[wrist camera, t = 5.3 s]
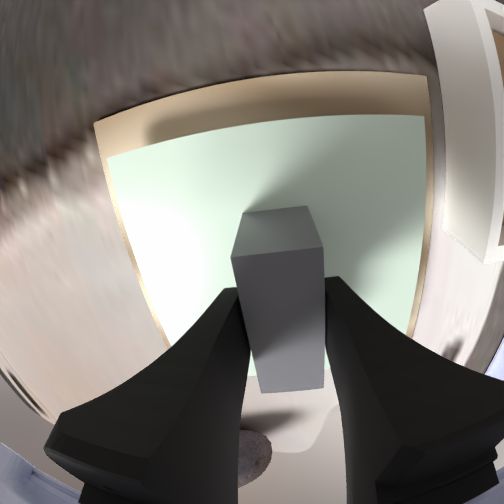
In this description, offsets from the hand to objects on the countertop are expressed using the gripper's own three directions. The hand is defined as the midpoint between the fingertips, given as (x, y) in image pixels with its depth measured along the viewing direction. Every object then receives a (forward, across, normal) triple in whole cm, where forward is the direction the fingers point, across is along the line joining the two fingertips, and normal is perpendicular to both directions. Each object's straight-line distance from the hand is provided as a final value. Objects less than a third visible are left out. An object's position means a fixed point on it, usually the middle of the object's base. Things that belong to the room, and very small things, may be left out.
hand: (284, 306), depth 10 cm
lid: (+4, 0, 0) cm, 4 cm away
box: (+5, -15, -6) cm, 17 cm away
